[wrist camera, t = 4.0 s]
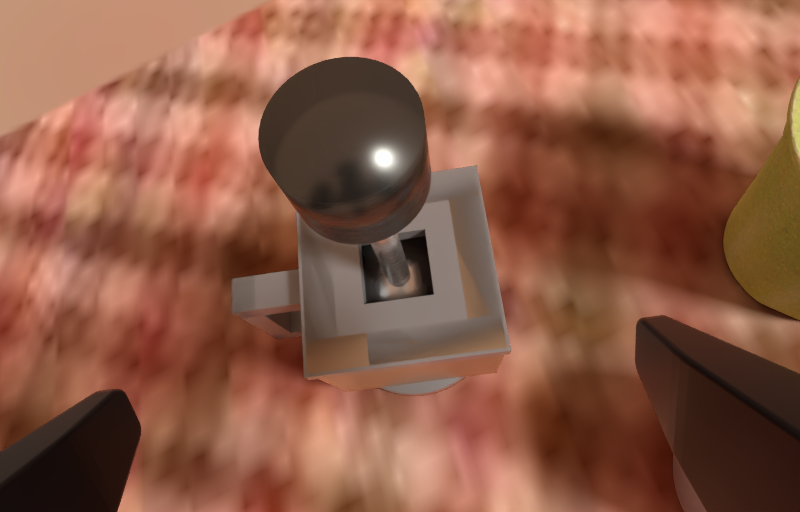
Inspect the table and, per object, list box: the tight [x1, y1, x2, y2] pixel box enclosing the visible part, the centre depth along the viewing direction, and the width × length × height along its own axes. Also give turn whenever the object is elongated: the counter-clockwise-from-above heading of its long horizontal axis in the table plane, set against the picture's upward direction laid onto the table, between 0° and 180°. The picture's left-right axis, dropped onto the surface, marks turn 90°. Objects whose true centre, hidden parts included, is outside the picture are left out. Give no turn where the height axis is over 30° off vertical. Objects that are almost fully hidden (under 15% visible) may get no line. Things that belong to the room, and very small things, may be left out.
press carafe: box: [232, 165, 511, 396], centre depth 20 cm, size 7×9×7 cm
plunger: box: [259, 57, 434, 304], centre depth 14 cm, size 3×3×9 cm
